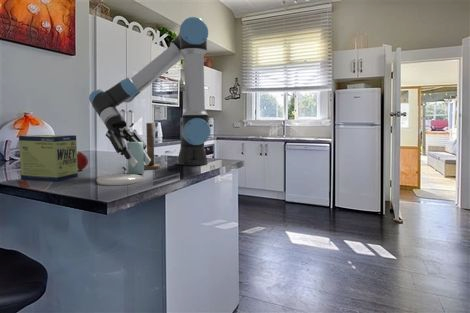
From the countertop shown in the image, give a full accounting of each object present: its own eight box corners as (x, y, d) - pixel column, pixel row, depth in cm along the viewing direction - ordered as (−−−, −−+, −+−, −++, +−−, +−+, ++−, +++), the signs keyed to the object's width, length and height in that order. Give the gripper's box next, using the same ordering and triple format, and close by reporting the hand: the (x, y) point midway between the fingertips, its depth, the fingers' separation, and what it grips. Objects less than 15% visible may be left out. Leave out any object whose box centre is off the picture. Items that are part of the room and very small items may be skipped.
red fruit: (81, 168, 137) (80, 150, 136) (91, 169, 135) (90, 151, 134) (69, 170, 132) (68, 151, 131) (80, 171, 130) (79, 152, 129)
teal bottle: (138, 170, 129) (137, 141, 127) (147, 172, 125) (146, 142, 124) (125, 172, 124) (123, 142, 123) (134, 174, 120) (133, 143, 119)
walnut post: (152, 166, 147) (151, 123, 145) (163, 167, 142) (163, 123, 140) (137, 168, 140) (136, 123, 138) (149, 170, 136) (148, 123, 133)
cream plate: (126, 175, 121) (126, 172, 121) (151, 180, 112) (151, 177, 112) (88, 181, 109) (88, 178, 109) (112, 187, 100) (112, 183, 100)
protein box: (57, 181, 108) (55, 136, 106) (20, 179, 112) (17, 135, 110) (79, 176, 118) (77, 135, 116) (44, 174, 122) (42, 134, 120)
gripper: (128, 127, 139) (155, 166, 132) (88, 127, 123) (117, 173, 116) (136, 114, 135) (164, 155, 128) (96, 113, 120) (126, 159, 113)
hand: (142, 163), depth 122 cm, fingers closed on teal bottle, 6 cm apart
